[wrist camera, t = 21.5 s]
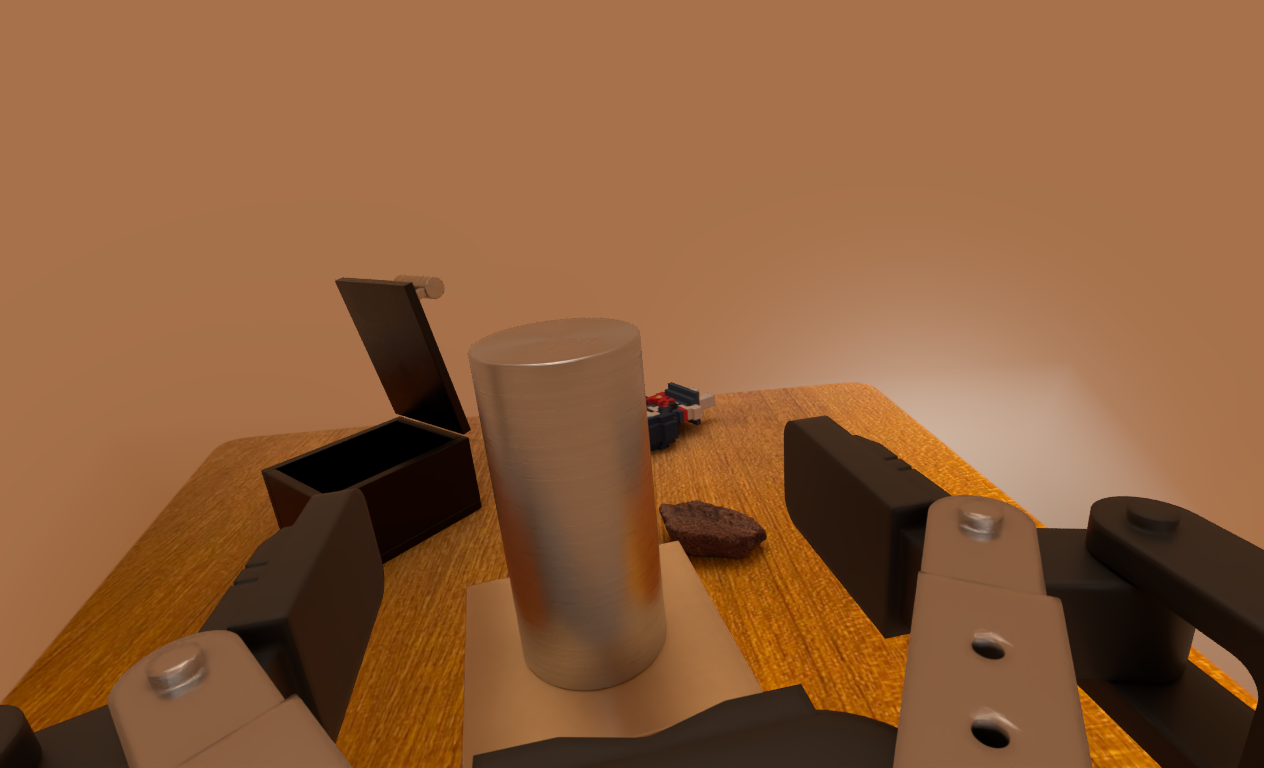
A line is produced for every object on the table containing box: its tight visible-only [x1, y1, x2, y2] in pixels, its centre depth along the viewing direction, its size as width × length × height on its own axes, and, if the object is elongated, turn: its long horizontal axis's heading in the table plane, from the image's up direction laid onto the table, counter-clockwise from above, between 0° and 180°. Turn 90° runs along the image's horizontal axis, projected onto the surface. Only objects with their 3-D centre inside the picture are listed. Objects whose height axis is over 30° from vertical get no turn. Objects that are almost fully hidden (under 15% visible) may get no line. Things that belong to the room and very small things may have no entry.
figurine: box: [646, 382, 715, 451], centre depth 65 cm, size 9×4×15 cm
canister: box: [468, 318, 666, 691], centre depth 22 cm, size 6×6×12 cm
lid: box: [335, 275, 471, 434], centre depth 54 cm, size 13×11×5 cm
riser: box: [462, 541, 763, 768], centre depth 26 cm, size 10×10×10 cm
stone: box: [659, 501, 767, 558], centre depth 46 cm, size 7×7×3 cm
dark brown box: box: [261, 416, 482, 564], centre depth 52 cm, size 13×11×7 cm
